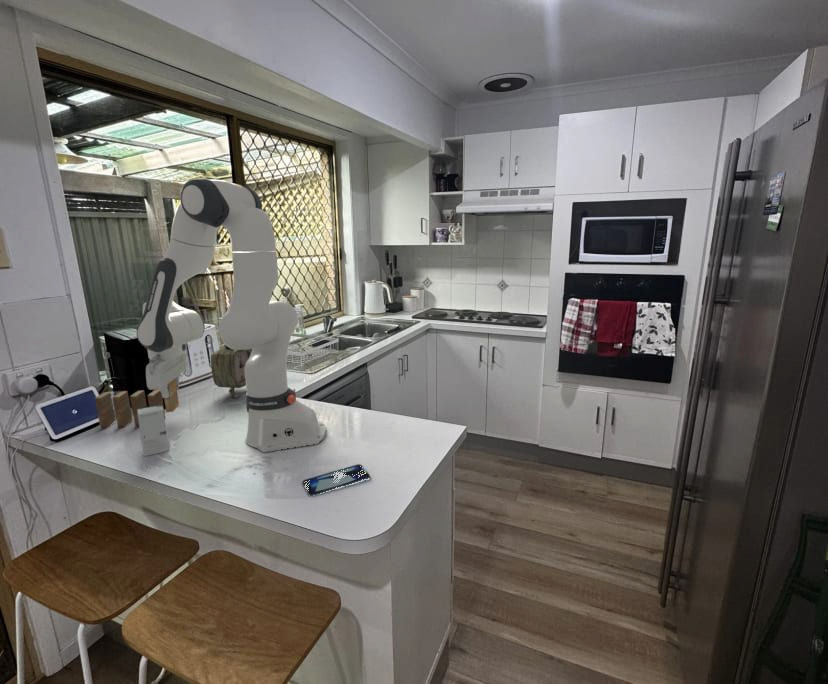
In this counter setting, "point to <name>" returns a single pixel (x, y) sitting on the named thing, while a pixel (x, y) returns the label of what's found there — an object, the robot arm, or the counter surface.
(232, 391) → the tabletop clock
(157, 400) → the domino
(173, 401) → the oak domino
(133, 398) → the domino
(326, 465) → the counter surface
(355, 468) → the smartphone
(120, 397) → the domino
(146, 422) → the skincare box
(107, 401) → the domino
